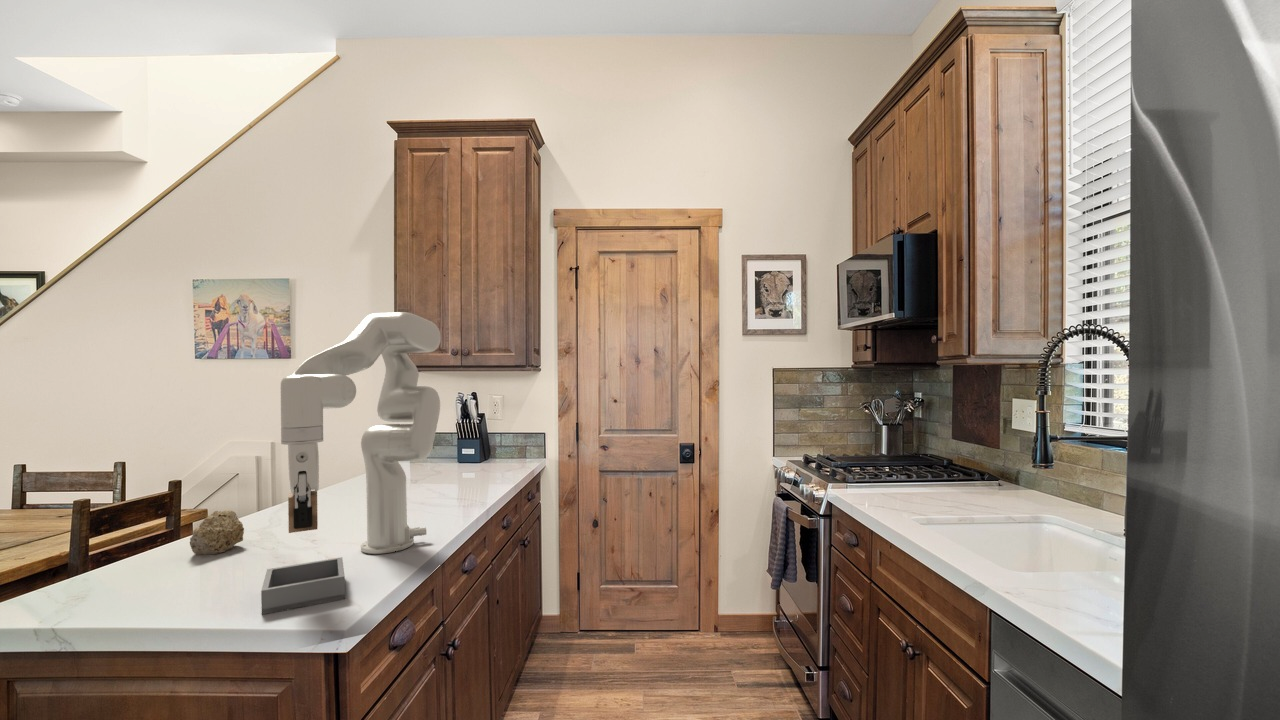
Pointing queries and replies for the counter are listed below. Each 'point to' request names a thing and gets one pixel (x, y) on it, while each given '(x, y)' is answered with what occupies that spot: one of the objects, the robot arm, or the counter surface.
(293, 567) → the bin
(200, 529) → the rock
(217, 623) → the counter surface
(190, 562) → the counter surface
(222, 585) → the counter surface
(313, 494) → the walnut block
